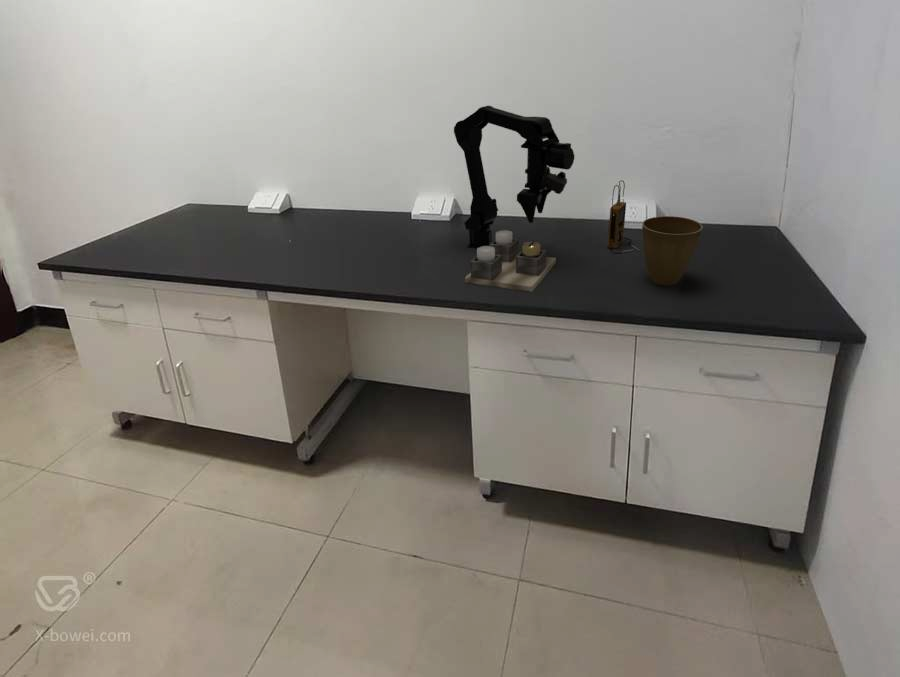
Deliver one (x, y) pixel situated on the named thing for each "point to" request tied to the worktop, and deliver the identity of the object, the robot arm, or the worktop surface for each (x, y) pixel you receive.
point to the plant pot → (669, 247)
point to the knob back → (504, 237)
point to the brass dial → (531, 249)
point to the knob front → (486, 254)
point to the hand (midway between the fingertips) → (535, 217)
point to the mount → (510, 268)
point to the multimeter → (617, 223)
